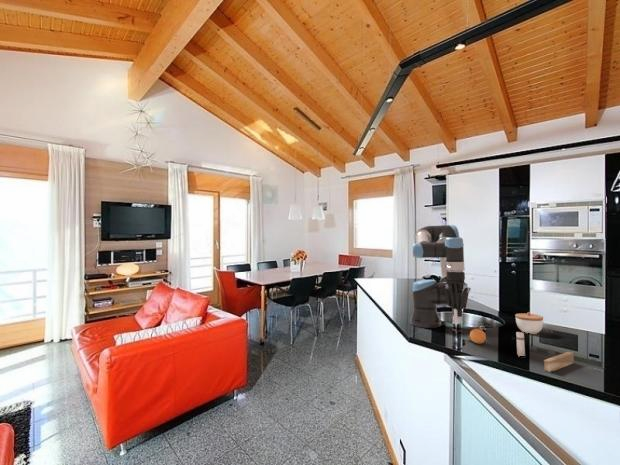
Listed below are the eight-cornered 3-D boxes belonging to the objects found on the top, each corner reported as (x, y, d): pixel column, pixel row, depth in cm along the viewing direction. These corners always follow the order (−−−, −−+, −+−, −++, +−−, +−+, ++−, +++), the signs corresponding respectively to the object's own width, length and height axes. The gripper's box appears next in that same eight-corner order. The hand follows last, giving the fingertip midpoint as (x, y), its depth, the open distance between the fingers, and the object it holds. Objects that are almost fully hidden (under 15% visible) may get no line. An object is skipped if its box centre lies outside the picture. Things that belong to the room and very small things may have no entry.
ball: (473, 345, 126) (472, 330, 126) (468, 340, 132) (467, 326, 132) (488, 345, 125) (487, 331, 125) (482, 341, 130) (482, 327, 131)
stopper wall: (544, 371, 99) (543, 360, 99) (568, 361, 107) (567, 351, 107) (549, 372, 98) (549, 361, 98) (573, 363, 105) (573, 352, 105)
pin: (519, 356, 112) (518, 333, 112) (515, 354, 114) (514, 331, 115) (526, 357, 111) (525, 333, 112) (523, 354, 114) (521, 332, 114)
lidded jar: (545, 336, 135) (544, 315, 135) (516, 333, 141) (515, 313, 141) (542, 330, 144) (541, 311, 144) (515, 328, 150) (514, 309, 150)
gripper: (437, 270, 142) (439, 321, 140) (462, 272, 130) (465, 327, 129) (448, 270, 145) (450, 319, 144) (474, 271, 134) (476, 325, 132)
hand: (457, 323), depth 136 cm, fingers closed
